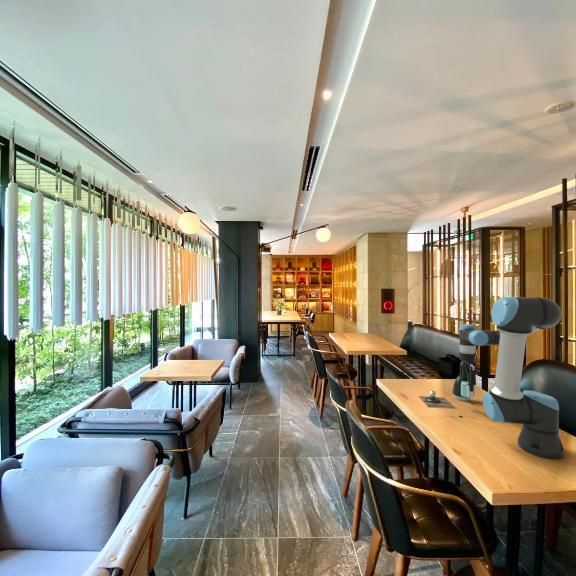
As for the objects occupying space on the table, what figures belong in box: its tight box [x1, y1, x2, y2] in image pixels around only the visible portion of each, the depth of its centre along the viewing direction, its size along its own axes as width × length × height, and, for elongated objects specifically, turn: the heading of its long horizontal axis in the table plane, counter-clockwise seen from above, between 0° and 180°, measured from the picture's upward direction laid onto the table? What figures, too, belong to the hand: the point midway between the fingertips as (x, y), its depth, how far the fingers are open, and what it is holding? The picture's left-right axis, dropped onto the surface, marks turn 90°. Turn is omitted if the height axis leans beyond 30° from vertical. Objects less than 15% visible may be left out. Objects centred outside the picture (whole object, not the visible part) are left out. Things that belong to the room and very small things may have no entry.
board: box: [418, 395, 457, 410], centre depth 179 cm, size 18×15×1 cm
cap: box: [461, 381, 476, 399], centre depth 167 cm, size 6×6×7 cm
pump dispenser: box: [451, 374, 471, 402], centre depth 185 cm, size 10×10×15 cm
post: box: [425, 390, 440, 403], centre depth 181 cm, size 8×8×6 cm
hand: (467, 395), depth 167 cm, fingers closed on cap, 6 cm apart
